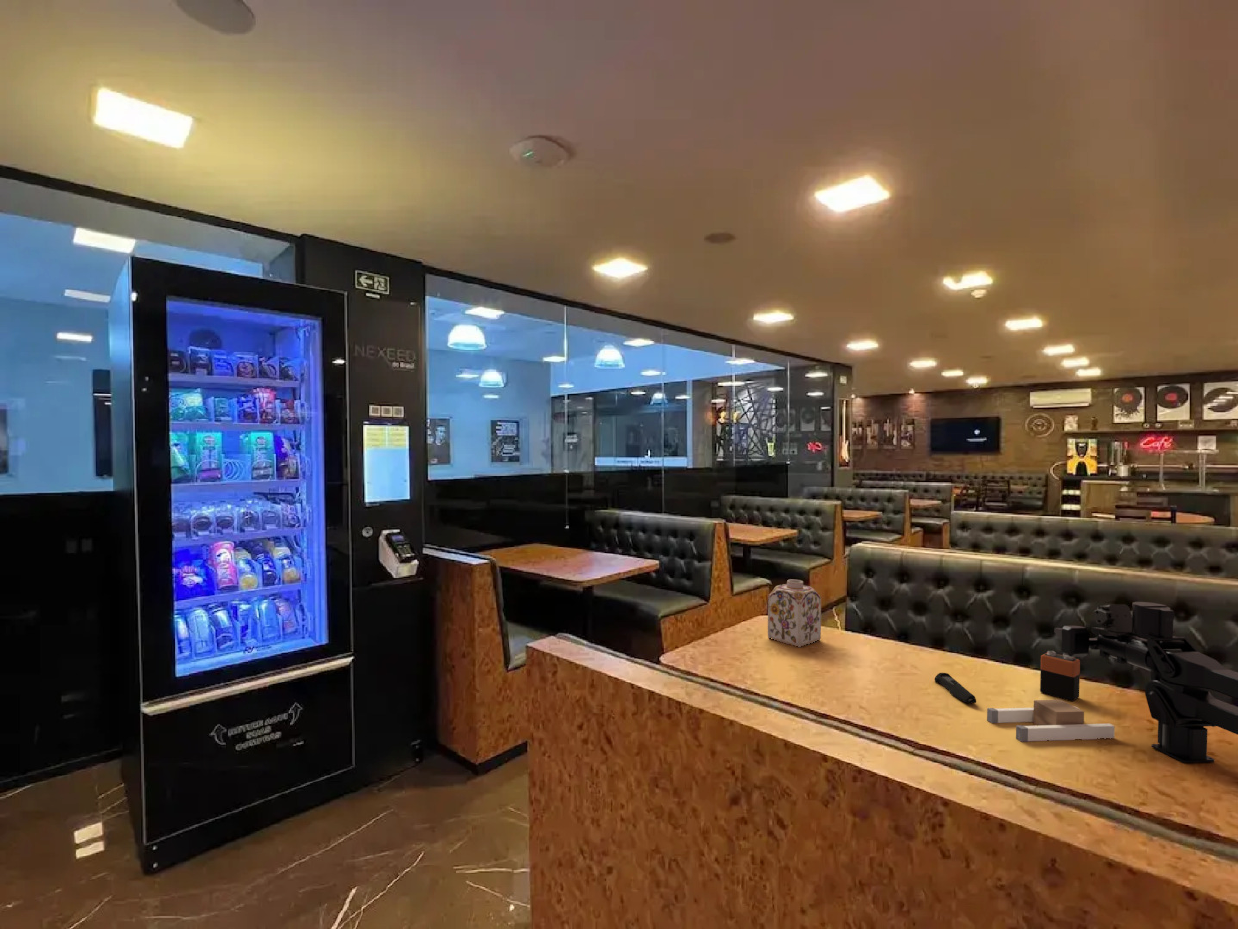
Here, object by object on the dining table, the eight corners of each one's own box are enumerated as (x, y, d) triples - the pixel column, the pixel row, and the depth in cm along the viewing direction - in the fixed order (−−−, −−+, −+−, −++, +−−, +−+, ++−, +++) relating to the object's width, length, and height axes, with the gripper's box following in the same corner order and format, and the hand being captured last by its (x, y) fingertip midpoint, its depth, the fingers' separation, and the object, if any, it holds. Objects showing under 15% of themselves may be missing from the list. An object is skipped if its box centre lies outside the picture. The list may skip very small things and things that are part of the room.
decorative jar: (789, 632, 195) (789, 575, 195) (821, 640, 187) (823, 581, 186) (766, 639, 188) (767, 580, 187) (799, 648, 179) (800, 586, 179)
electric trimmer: (963, 708, 138) (963, 694, 138) (933, 682, 154) (933, 669, 154) (980, 709, 138) (980, 695, 138) (948, 682, 154) (949, 670, 154)
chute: (1114, 738, 123) (1115, 725, 123) (1021, 741, 121) (1021, 728, 121) (1074, 717, 133) (1074, 705, 133) (986, 720, 131) (987, 708, 131)
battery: (1073, 702, 142) (1074, 659, 141) (1039, 693, 147) (1040, 651, 147) (1079, 697, 144) (1080, 655, 144) (1046, 688, 150) (1047, 647, 149)
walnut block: (1083, 736, 125) (1084, 711, 125) (1055, 736, 124) (1056, 712, 124) (1059, 723, 131) (1060, 699, 130) (1033, 723, 130) (1033, 700, 130)
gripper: (1179, 611, 127) (1111, 594, 142) (1095, 612, 125) (1036, 595, 141) (1177, 665, 127) (1110, 642, 143) (1094, 667, 125) (1035, 643, 141)
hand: (1073, 630), depth 142 cm, fingers open, 9 cm apart
